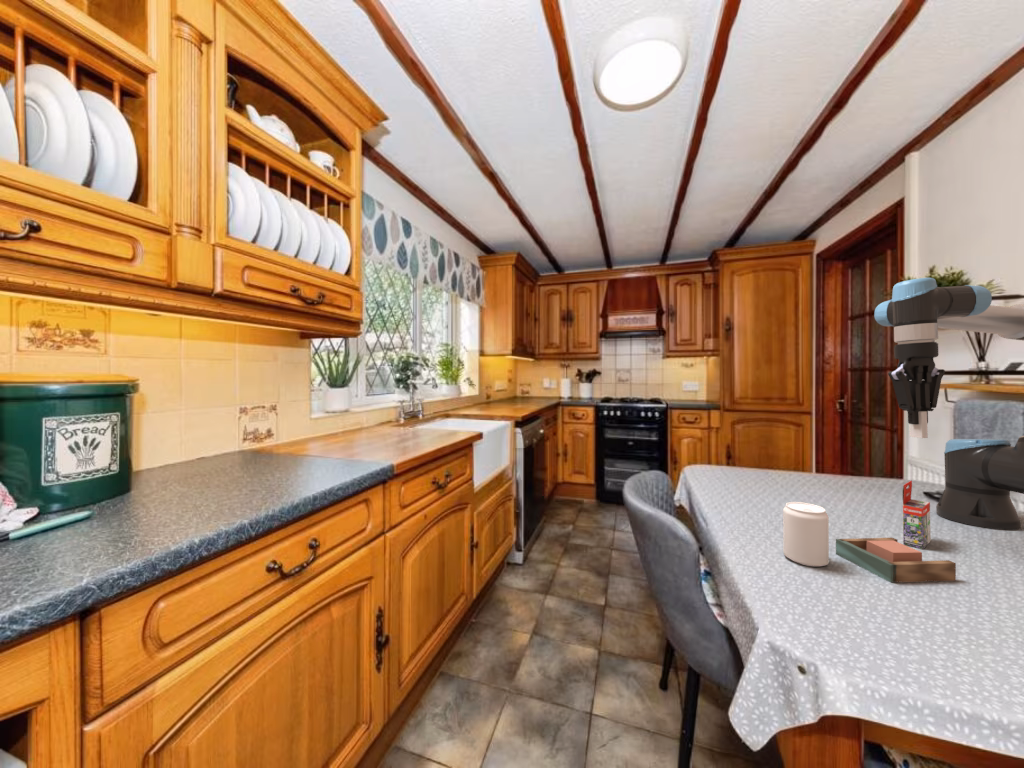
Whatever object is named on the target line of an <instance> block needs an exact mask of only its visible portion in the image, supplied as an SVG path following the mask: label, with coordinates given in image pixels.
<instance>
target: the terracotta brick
mask: <svg viewBox="0 0 1024 768" xmlns="http://www.w3.org/2000/svg"><path fill="white" fill-rule="evenodd" d="M867 551H868V552H870V553H872V554H874V555H876V556H878V557H881V558H883V559H885V560H887V561H889V562H907V561H923V552H922V551H920V550H917V549H915V548H913V547H911V546H910V547H909V546H908V545H905V544H903V543H900V542H896V541H894V540H879V541H867Z"/></svg>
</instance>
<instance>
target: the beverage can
mask: <svg viewBox="0 0 1024 768" xmlns="http://www.w3.org/2000/svg"><path fill="white" fill-rule="evenodd" d="M782 517H783V518H782V521H783V523H782V528H783V532H782V535H783V537H782V541H783V549H782V550H783V555H784V556H785V557H787V558H788V559H790V560H791V561H792V562H795V563H797V564H799V565H802V566H808V567H814V568H815V567H818V568H819V567H823V566H827V565H828V564H829V563H830V562H829V561H830V560H829V559H830V555H829V552H830V551H829V550H830V548H829V547H830V545H829V543H830V541H829V540H830V539H829V537H830V536H829V532H830V531H829V529H830V528H829V521H830V520H829V515H828V514H827V512H826V509H825V507H822V506H820V505H816V504H812V503H809V502H808V503H807V502H802V501H800V502H798V501H790V502H786V503H785V506H784V507H783V509H782Z"/></svg>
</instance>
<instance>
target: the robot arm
mask: <svg viewBox="0 0 1024 768" xmlns="http://www.w3.org/2000/svg"><path fill="white" fill-rule="evenodd" d="M892 287H893V288H892V293H891V294H892V295H891V296H892V297H891V299H889V300H885V301H883V302H881V303H879V304H878V305H877V306H876V307H875V309H874V314H873V315H874V320H875V321H876V323H877V324H878V325H880V326H882V327H893V341H894V343H897V344H894V346H893V353H894V359H896V360H898V363H897V368H896V369H895V370H893V371H889V372H888V377H889V378H890V379H891V381H892V386H893V390H894V393H895V397H896V401H897V405H898V408H899V409H902V411H907V422H908V424H909V426H908V427H909V438H910V437H911V438H917V439H918V438H919V439H928V435H929V434H928V423H929V412H934V410H935V409H936V408H937V405H938V401H939V395H940V390H941V389H940V388H941V384H942V379H943V377H944V375H945V373H946V370H945V369H941V368H940V369H939V368H937V367H936V363H935V361H934V358H937V357H939V343H938V342H937V341H936V340H938V339H939V329H942V330H953V331H954V330H955V331H963V332H974V333H984V334H994V335H995V334H996V335H998V336H999V337H1001V338H1003V339H1007V340H1016V341H1024V304H1016V305H1012V306H1001V305H992V301H993V300H992V299H993V297H992V295H993V294H992V292H991V291H990V290H989V289H988V288H987V287H985V286H981V285H970V284H965V285H957V286H952V285H951V286H941V287H940V286H938V284H937V281H936V279H935V278H933V277H920V278H919V277H918V278H914V279H913V278H912V279H907V280H903V281H900V282H897V283H896V284H895V283H894V286H892ZM943 453H944V477H945V478H944V483H945V484H944V485H945V486H944V490H943V492H942V494H941V496H940V498H939V499H938V502H937V503H936V511H935V512H936V515H938V516H940V517H941V518H944V519H946V520H950V521H953V522H957V523H961V524H965V525H970V526H974V527H981V528H987V529H995V530H1003V531H1004V530H1005V531H1006V530H1007V531H1008V530H1009V531H1013V530H1015V531H1016V530H1019V529H1021V528H1022V527H1021V526H1022V522H1021V521H1022V520H1021V517H1020V516H1019V515H1018V512H1017V510H1016V508H1015V505H1014V504H1013V501H1012V499H1011V492H1013V493H1017V494H1022V495H1024V435H1022V436H1019V437H1018V439H1017V441H1016V443H1015V444H1014V446H1012V444H1011V442H1010V440H1009V439H1001V438H999V439H998V438H952V439H949V440H947V441H946V442H945V450H944V452H943Z"/></svg>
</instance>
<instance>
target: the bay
mask: <svg viewBox="0 0 1024 768" xmlns="http://www.w3.org/2000/svg"><path fill="white" fill-rule="evenodd" d="M879 540H894V541H896V542H898V539H896V538H894V537H868V538H867V537H866V538H865V537H864V538H863V537H861V538H835V555H836V556H839V557H840V558H843V559H845V560H846V561H848V562H850V563H853V564H854V565H856V566H858V567H860V568H862V569H864V570H866V571H868V572H870V573H871V574H874V575H875V576H877V577H879V578H882V579H883V580H884V581H887V582H889V583H911V582H913V583H915V582H919V583H920V582H943V581H944V582H949V581H950V582H951V581H953V582H954V581H956V580H957V577H956V574H957V569H956V567H957V566H956V562H954V561H951V560H922V561H907V562H889V561H887V560H885V559H883V558H881V557H878V556H876V555H874V554H872V553H870V552H868V551H867V541H879ZM898 543H899V542H898Z"/></svg>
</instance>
